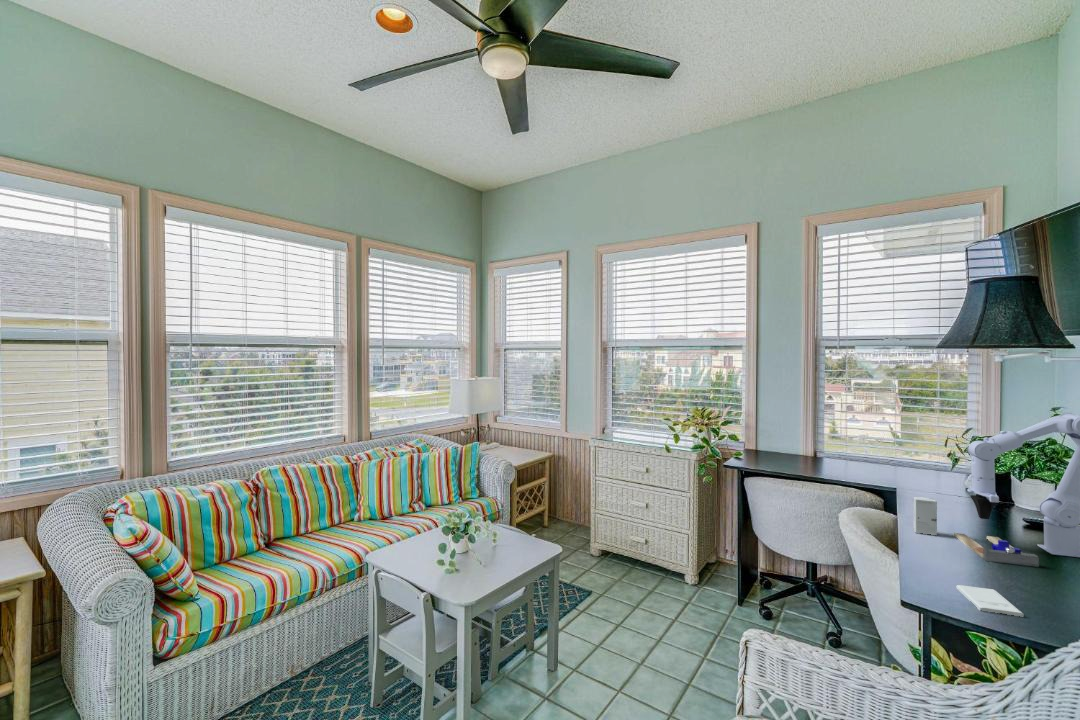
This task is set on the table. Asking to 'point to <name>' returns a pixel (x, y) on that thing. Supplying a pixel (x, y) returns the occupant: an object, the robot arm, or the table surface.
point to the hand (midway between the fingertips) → (984, 518)
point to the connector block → (1011, 557)
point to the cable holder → (1003, 546)
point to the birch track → (974, 545)
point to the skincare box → (925, 515)
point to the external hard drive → (989, 600)
